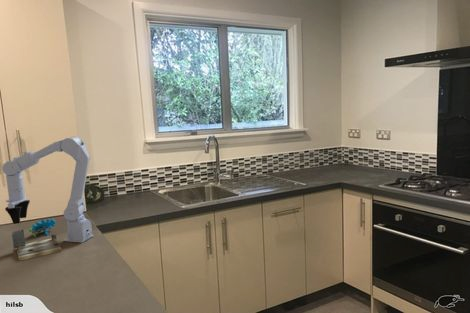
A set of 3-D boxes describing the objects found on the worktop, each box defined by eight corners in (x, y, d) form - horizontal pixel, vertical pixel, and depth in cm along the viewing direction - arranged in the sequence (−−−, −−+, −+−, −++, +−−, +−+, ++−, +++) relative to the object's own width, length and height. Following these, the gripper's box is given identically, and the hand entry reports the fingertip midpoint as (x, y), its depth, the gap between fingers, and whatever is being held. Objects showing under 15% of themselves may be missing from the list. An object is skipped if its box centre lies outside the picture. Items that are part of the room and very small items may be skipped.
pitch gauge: (55, 240, 154) (54, 231, 153) (61, 250, 141) (60, 241, 141) (16, 248, 146) (15, 239, 145) (19, 260, 133) (17, 250, 133)
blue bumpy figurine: (55, 225, 170) (54, 214, 162) (59, 235, 167) (57, 225, 160) (29, 233, 164) (26, 223, 156) (33, 244, 161) (30, 234, 154)
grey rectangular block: (24, 243, 145) (23, 229, 144) (26, 249, 139) (24, 234, 138) (13, 246, 142) (11, 231, 142) (14, 251, 137) (12, 236, 136)
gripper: (12, 186, 154) (16, 216, 156) (-3, 193, 140) (2, 226, 142) (30, 184, 156) (33, 214, 157) (17, 192, 142) (21, 225, 143)
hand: (20, 220), depth 150 cm, fingers open, 7 cm apart
